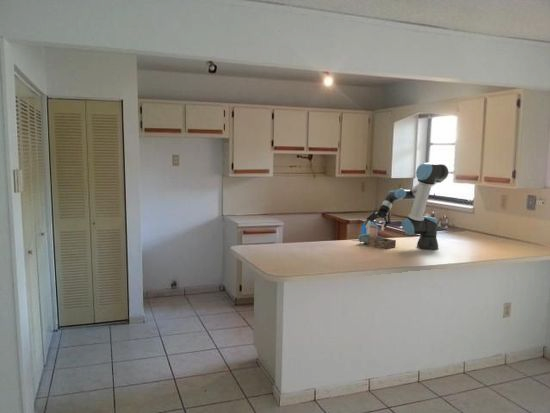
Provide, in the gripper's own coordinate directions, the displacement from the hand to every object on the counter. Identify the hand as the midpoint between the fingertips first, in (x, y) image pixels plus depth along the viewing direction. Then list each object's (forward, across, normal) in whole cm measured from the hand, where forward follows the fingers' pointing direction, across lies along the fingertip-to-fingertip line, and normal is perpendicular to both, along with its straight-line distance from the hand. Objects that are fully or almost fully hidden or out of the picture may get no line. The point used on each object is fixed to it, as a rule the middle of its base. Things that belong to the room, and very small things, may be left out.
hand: (374, 228), depth 348 cm
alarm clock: (-6, +17, -23) cm, 29 cm away
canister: (+8, 0, -5) cm, 9 cm away
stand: (+10, -7, -7) cm, 14 cm away
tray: (+8, 0, -6) cm, 10 cm away
